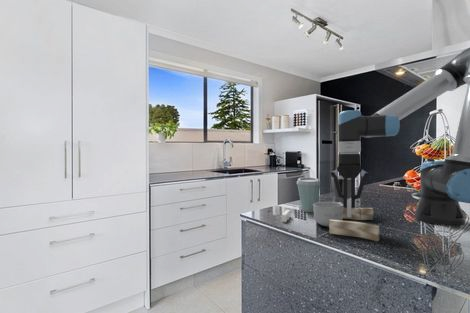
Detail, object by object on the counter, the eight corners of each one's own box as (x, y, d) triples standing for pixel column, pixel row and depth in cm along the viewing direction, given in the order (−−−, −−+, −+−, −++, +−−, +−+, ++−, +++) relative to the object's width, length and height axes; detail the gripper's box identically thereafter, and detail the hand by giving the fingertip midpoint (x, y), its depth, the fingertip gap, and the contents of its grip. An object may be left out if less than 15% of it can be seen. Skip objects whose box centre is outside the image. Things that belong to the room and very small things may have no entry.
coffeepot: (332, 206, 123) (332, 170, 122) (353, 208, 119) (353, 170, 118) (328, 214, 109) (328, 173, 109) (352, 217, 105) (352, 174, 104)
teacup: (325, 230, 89) (325, 208, 89) (307, 221, 100) (307, 201, 99) (356, 225, 94) (356, 204, 93) (336, 218, 104) (336, 198, 103)
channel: (372, 218, 102) (372, 207, 102) (379, 241, 78) (379, 227, 78) (333, 215, 108) (333, 204, 108) (328, 235, 84) (328, 222, 84)
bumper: (290, 216, 107) (290, 209, 107) (285, 222, 100) (285, 214, 99) (286, 216, 108) (286, 209, 107) (281, 221, 100) (281, 214, 100)
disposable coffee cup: (325, 212, 112) (325, 179, 112) (303, 214, 110) (303, 180, 109) (313, 207, 123) (312, 176, 122) (292, 208, 120) (292, 177, 120)
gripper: (329, 153, 92) (329, 217, 93) (370, 153, 86) (369, 221, 87) (331, 152, 99) (331, 212, 100) (368, 152, 93) (368, 215, 94)
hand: (349, 216), depth 93 cm, fingers closed
